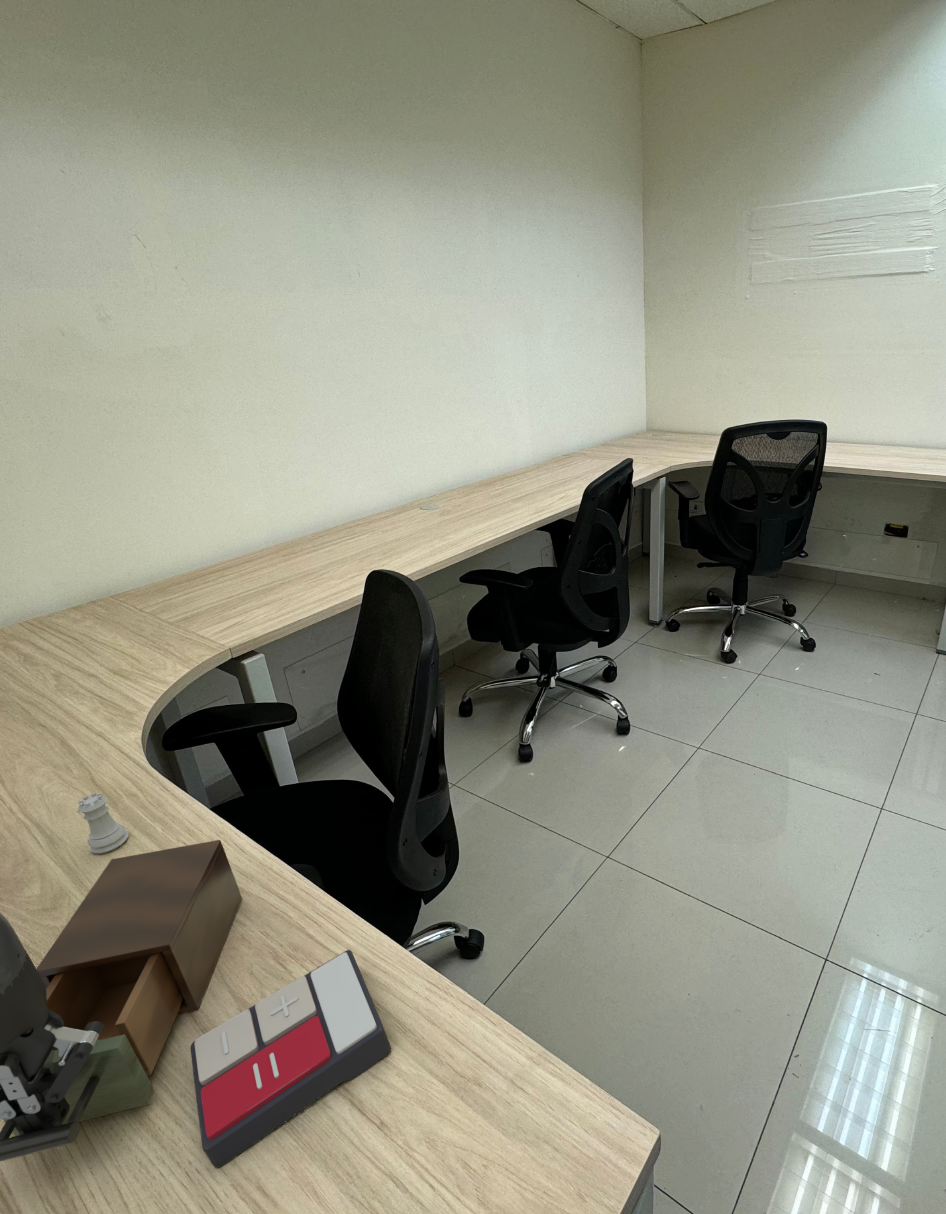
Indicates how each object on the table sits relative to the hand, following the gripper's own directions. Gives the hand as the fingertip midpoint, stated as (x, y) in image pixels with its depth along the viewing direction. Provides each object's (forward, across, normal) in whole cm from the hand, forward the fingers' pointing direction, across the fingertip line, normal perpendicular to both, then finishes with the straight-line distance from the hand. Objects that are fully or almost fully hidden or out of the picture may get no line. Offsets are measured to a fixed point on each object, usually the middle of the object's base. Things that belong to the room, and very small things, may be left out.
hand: (50, 1127), depth 51 cm
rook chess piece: (+5, +16, -42) cm, 45 cm away
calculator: (+4, -17, -4) cm, 18 cm away
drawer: (+3, 0, -7) cm, 8 cm away
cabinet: (+4, 0, -19) cm, 20 cm away
